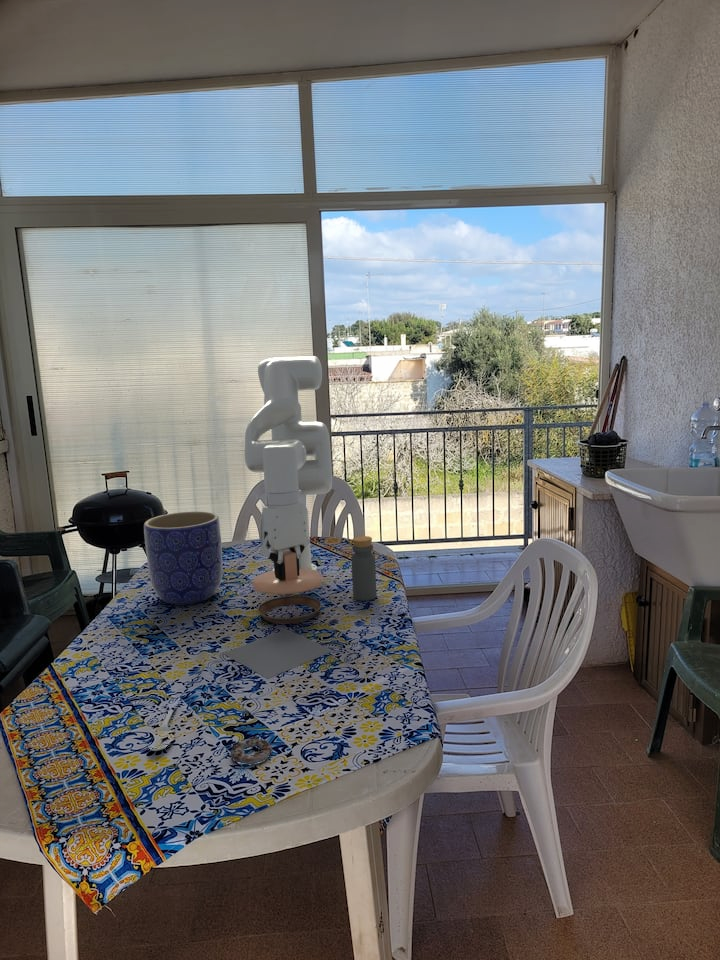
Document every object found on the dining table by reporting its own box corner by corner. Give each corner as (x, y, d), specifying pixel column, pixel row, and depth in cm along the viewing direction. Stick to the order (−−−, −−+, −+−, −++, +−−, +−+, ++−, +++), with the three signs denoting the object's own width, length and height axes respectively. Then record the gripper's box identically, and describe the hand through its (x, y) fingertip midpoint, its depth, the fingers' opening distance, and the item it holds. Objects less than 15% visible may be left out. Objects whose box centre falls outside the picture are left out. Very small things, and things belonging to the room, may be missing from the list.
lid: (239, 584, 151) (237, 554, 150) (295, 567, 162) (293, 540, 160) (279, 599, 139) (277, 568, 138) (337, 581, 150) (335, 551, 149)
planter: (215, 609, 158) (208, 527, 154) (140, 612, 159) (131, 529, 155) (232, 584, 176) (226, 509, 173) (165, 586, 177) (157, 512, 173)
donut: (289, 753, 99) (288, 741, 99) (254, 782, 93) (253, 769, 93) (249, 737, 104) (248, 725, 104) (212, 763, 98) (211, 751, 97)
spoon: (142, 760, 99) (141, 750, 98) (167, 693, 119) (166, 685, 119) (171, 757, 99) (169, 747, 99) (190, 691, 119) (189, 683, 119)
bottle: (377, 592, 165) (375, 535, 162) (375, 601, 159) (373, 541, 157) (354, 592, 166) (351, 535, 163) (351, 601, 160) (349, 541, 157)
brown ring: (301, 600, 162) (300, 590, 162) (334, 617, 150) (333, 606, 150) (247, 616, 154) (246, 605, 153) (277, 635, 142) (276, 623, 142)
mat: (222, 655, 133) (222, 652, 132) (287, 631, 143) (286, 629, 143) (267, 681, 121) (267, 678, 121) (334, 653, 131) (333, 650, 131)
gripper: (301, 491, 155) (305, 565, 158) (242, 502, 145) (248, 582, 148) (321, 494, 150) (325, 571, 153) (261, 506, 139) (267, 589, 142)
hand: (287, 576), depth 150 cm, fingers closed on lid, 3 cm apart
